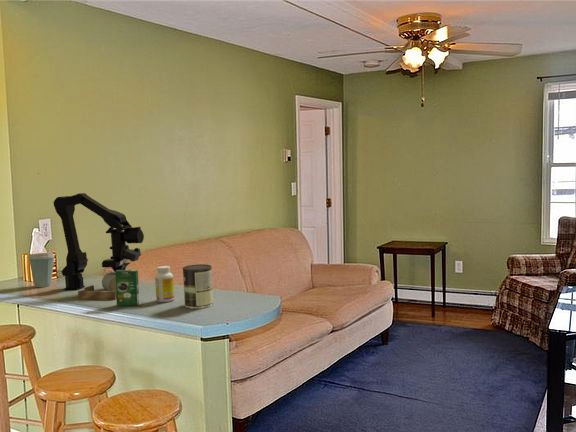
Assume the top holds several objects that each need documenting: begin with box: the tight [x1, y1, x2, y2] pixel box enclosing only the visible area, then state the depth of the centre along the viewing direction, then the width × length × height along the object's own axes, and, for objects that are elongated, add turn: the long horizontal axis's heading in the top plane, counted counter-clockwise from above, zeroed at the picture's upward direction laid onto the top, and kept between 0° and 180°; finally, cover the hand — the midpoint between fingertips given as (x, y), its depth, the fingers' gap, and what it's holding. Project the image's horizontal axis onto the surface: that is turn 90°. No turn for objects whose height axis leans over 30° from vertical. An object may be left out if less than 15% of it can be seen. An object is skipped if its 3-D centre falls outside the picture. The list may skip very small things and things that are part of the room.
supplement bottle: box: [154, 265, 175, 303], centre depth 218 cm, size 7×7×13 cm
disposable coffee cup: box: [28, 252, 56, 288], centre depth 256 cm, size 11×11×15 cm
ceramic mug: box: [101, 272, 116, 291], centre depth 238 cm, size 11×8×8 cm
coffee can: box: [182, 263, 214, 310], centre depth 209 cm, size 10×10×14 cm
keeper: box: [77, 284, 117, 301], centre depth 231 cm, size 18×11×3 cm, turn 76°
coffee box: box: [114, 269, 140, 307], centre depth 213 cm, size 8×3×13 cm, turn 87°
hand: (121, 280), depth 244 cm, fingers closed
